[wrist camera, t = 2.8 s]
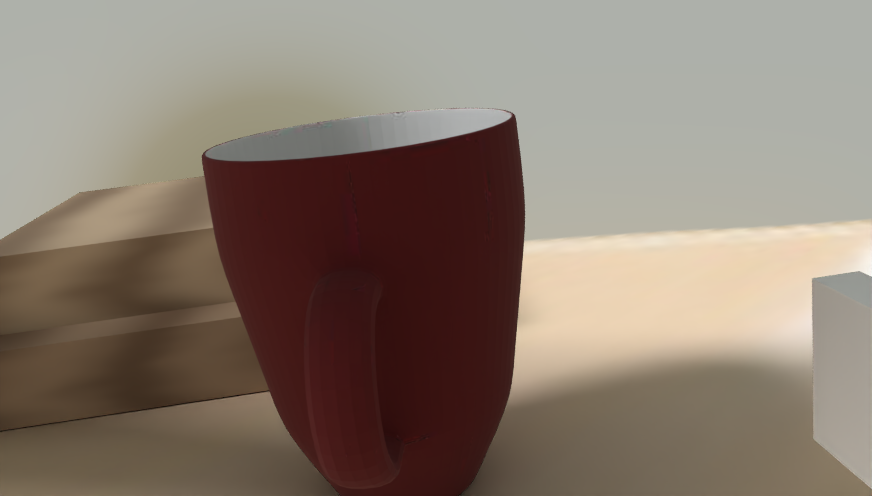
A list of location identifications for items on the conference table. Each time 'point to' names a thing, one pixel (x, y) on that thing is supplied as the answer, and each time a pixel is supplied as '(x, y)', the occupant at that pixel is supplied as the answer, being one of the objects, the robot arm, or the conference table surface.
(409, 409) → the mug
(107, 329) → the stand
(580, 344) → the conference table surface
